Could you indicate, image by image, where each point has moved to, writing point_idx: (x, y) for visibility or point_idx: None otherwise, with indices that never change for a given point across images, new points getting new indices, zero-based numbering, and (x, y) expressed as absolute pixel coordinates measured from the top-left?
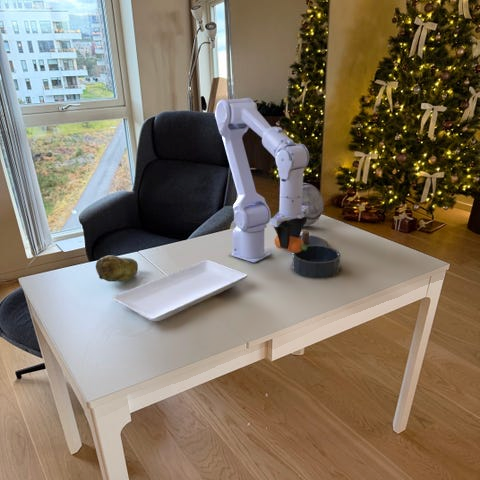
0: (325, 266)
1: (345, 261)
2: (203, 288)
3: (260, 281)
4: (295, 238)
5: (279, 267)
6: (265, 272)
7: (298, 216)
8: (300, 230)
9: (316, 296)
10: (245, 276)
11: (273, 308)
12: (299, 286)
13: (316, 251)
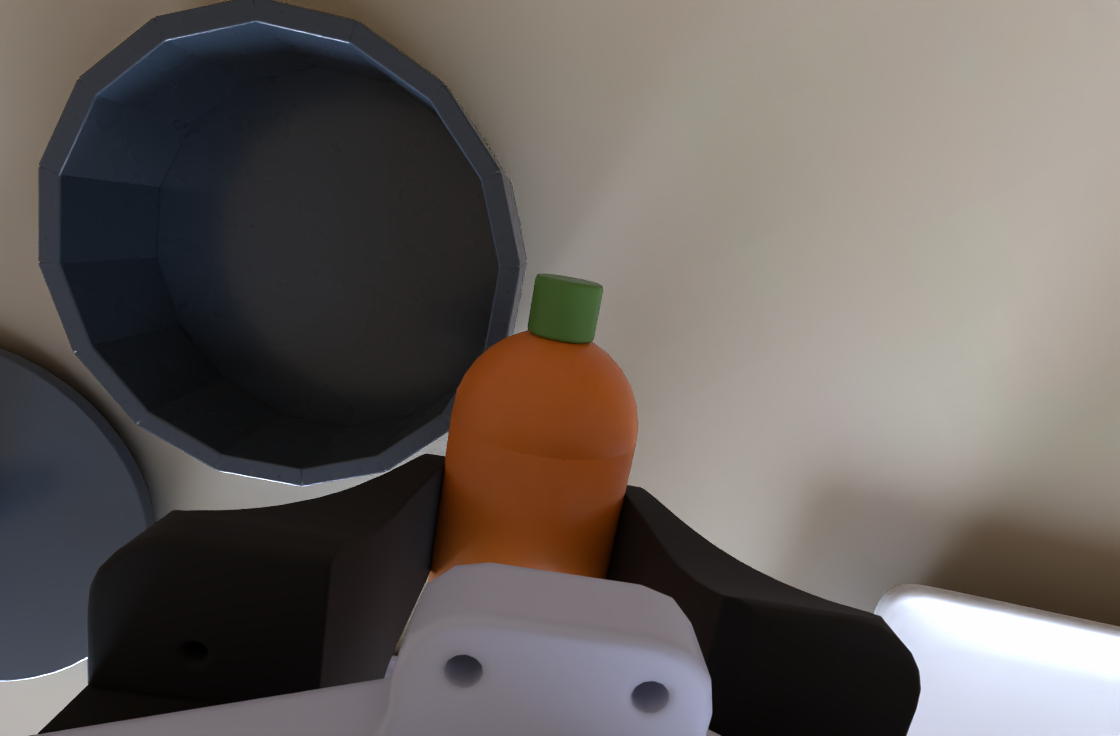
0: (452, 94)
1: (53, 77)
2: (1044, 733)
3: (741, 507)
4: (555, 468)
5: None
6: None
7: (696, 713)
8: (370, 499)
9: (804, 49)
10: (932, 592)
11: (1085, 255)
12: (699, 237)
13: (134, 331)
